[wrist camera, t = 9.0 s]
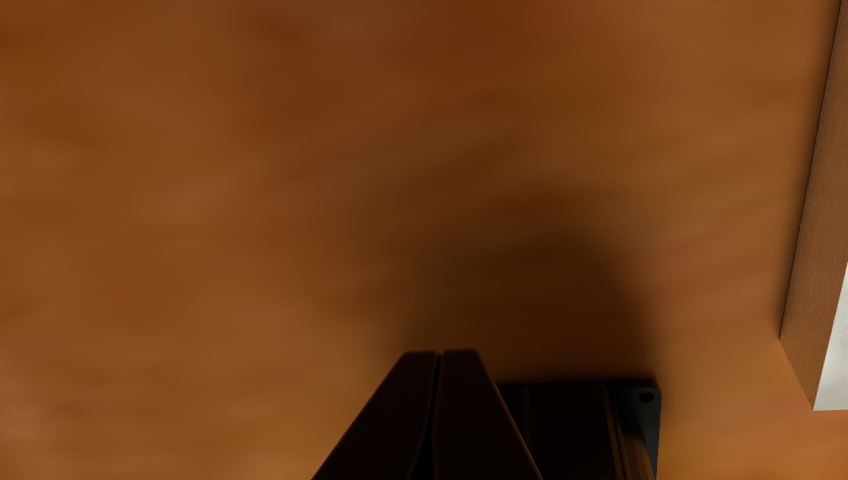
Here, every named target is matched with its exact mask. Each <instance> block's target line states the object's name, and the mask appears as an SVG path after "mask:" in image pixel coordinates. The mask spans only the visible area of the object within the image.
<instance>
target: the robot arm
mask: <svg viewBox="0 0 848 480" xmlns="http://www.w3.org/2000/svg"><path fill="white" fill-rule="evenodd" d="M645 392H649V393H647V394H642V393H645ZM661 398H662V397H661V392H660V389H659V385H658V383H657V382H656V381H654V380H652V379H623V380H600V381H577V382H554V383H531V384H508V385H496V384H495V382H494V380H493V378H492V376H491V374H490V372H489V370H488V368H487V366H486V364H485V362H484V360H483V358H482V356H481V354H480V352H479V351H478V350H477V349H475V348H458V349H445V350H444V351H443V352H442V354H440V353H439V352H438V351H437V350H419V351H407V352H405V353H403V354H402V355H401V356H400V358H399V359H398V360H397V362H396V363H395V365H394V366H393V367H392V369H391V370H390V371H389V373H388V374H387V376H386V377H385V378H384V380H383V381H382V382H381V384H380V385H379V387H378V388H377V389H376V391H375V392H374V394H373V395H372V396H371V398H370V399H369V400H368V402H367V403H366V405H365V406H364V407H363V409H362V410H361V411H360V413H359V414H358V416H357V417H356V418H355V420H354V421H353V422H352V424H351V425H350V427H349V428H348V429H347V431H346V432H345V434H344V435H343V436H342V438H341V439H340V440H339V442H338V443H337V445H336V446H335V447H334V449H333V450H332V451H331V453H330V454H329V456H328V457H327V458H326V460H325V461H324V462H323V464H322V465H321V467H320V468H319V469H318V471H317V472H316V474H315V475H314V476H313V478H312V479H311V480H656V473H657V458H658V443H659V428H660V413H661Z"/></svg>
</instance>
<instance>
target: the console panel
mask: <svg viewBox="0 0 848 480" xmlns="http://www.w3.org/2000/svg"><path fill="white" fill-rule="evenodd" d="M779 341H780V343H781V345H782V348H783V350H784V352H785V354H786V356H787V358H788V360H789V362H790V364H791V366H792V368H793V370H794V372H795V374H796V376H797V379H798V381H799V383H800V385H801V387H802V389H803V391H804V393H805V395H806V397H807V399H808V401H809V403H810V405H811V407H812V410H813V411H817V410H845V409H848V0H842V1H841V7H840V12H839V18H838V23H837V29H836V34H835V40H834V45H833V50H832V56H831V61H830V67H829V72H828V78H827V83H826V89H825V94H824V100H823V105H822V110H821V116H820V121H819V127H818V132H817V138H816V143H815V149H814V154H813V160H812V165H811V170H810V176H809V181H808V187H807V192H806V198H805V203H804V209H803V214H802V219H801V225H800V230H799V236H798V241H797V247H796V252H795V258H794V263H793V269H792V274H791V279H790V285H789V290H788V296H787V301H786V307H785V312H784V318H783V323H782V329H781V334H780V339H779Z"/></svg>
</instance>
